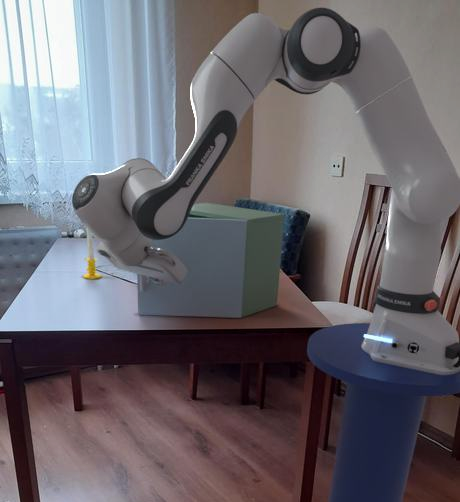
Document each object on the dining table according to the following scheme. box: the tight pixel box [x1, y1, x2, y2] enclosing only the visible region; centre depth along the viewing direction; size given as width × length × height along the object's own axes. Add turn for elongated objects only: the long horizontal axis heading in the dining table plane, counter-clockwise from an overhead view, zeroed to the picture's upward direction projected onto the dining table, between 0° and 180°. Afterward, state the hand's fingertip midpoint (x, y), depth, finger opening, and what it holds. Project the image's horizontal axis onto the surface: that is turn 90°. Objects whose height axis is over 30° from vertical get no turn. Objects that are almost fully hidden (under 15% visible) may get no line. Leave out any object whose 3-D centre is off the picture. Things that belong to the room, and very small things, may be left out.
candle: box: [82, 228, 102, 280], centre depth 167 cm, size 5×5×16 cm
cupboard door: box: [136, 217, 247, 319], centre depth 132 cm, size 6×26×24 cm, turn 93°
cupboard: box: [188, 202, 286, 318], centre depth 149 cm, size 16×26×24 cm, turn 53°
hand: (162, 283), depth 127 cm, fingers closed
